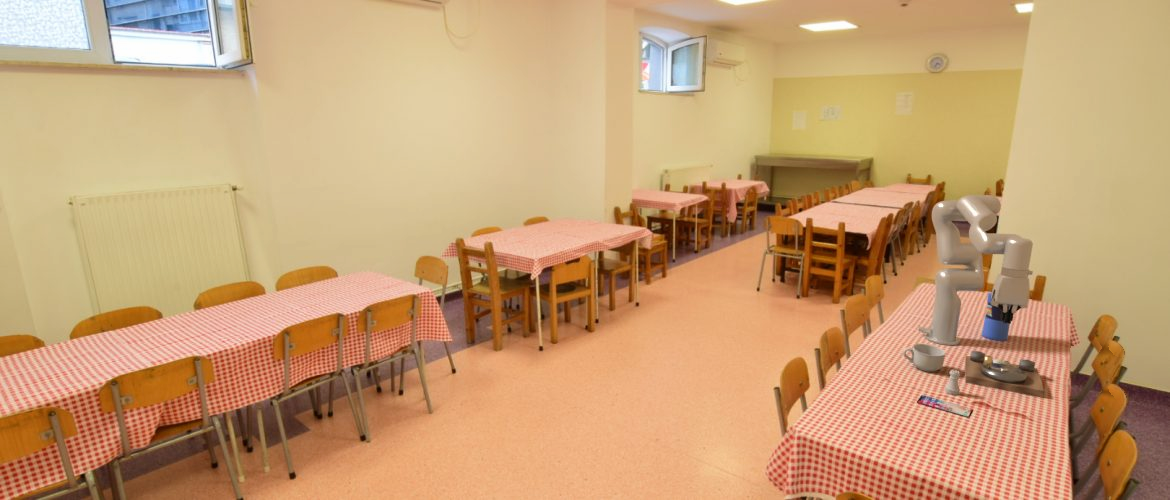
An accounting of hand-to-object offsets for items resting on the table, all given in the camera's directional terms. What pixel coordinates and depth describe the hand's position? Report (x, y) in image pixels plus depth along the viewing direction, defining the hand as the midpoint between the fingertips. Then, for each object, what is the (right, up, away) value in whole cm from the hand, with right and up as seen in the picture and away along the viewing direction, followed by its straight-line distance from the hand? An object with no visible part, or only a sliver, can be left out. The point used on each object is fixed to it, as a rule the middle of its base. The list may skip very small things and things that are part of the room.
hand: (1005, 322), depth 205 cm
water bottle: (+27, -12, +43) cm, 53 cm away
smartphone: (-33, -26, -17) cm, 46 cm away
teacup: (-23, -19, +12) cm, 32 cm away
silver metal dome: (-1, -19, -1) cm, 19 cm away
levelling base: (+1, -21, +3) cm, 21 cm away
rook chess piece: (-24, -23, -8) cm, 35 cm away
